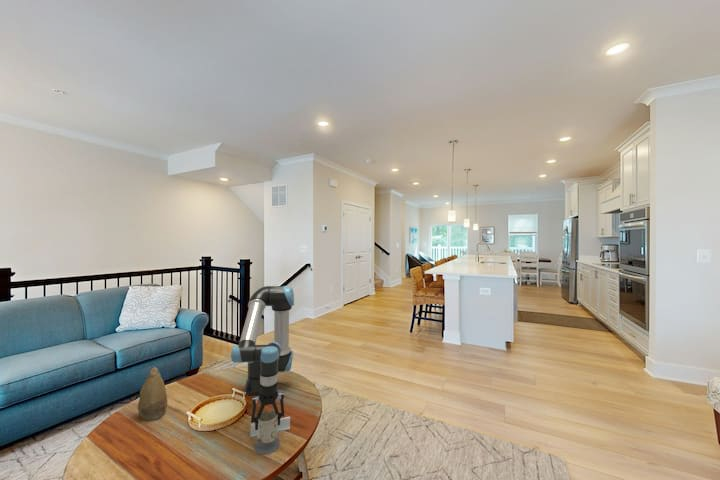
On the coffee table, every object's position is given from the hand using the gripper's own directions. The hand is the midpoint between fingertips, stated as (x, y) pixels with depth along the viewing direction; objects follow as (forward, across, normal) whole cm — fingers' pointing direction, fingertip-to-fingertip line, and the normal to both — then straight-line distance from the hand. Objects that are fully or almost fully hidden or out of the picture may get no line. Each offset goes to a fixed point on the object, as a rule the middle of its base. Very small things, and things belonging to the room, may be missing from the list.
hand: (267, 434), depth 127 cm
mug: (+2, -1, 0) cm, 2 cm away
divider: (+5, +2, +9) cm, 11 cm away
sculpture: (+5, -54, +41) cm, 68 cm away
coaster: (+5, 0, 0) cm, 5 cm away
